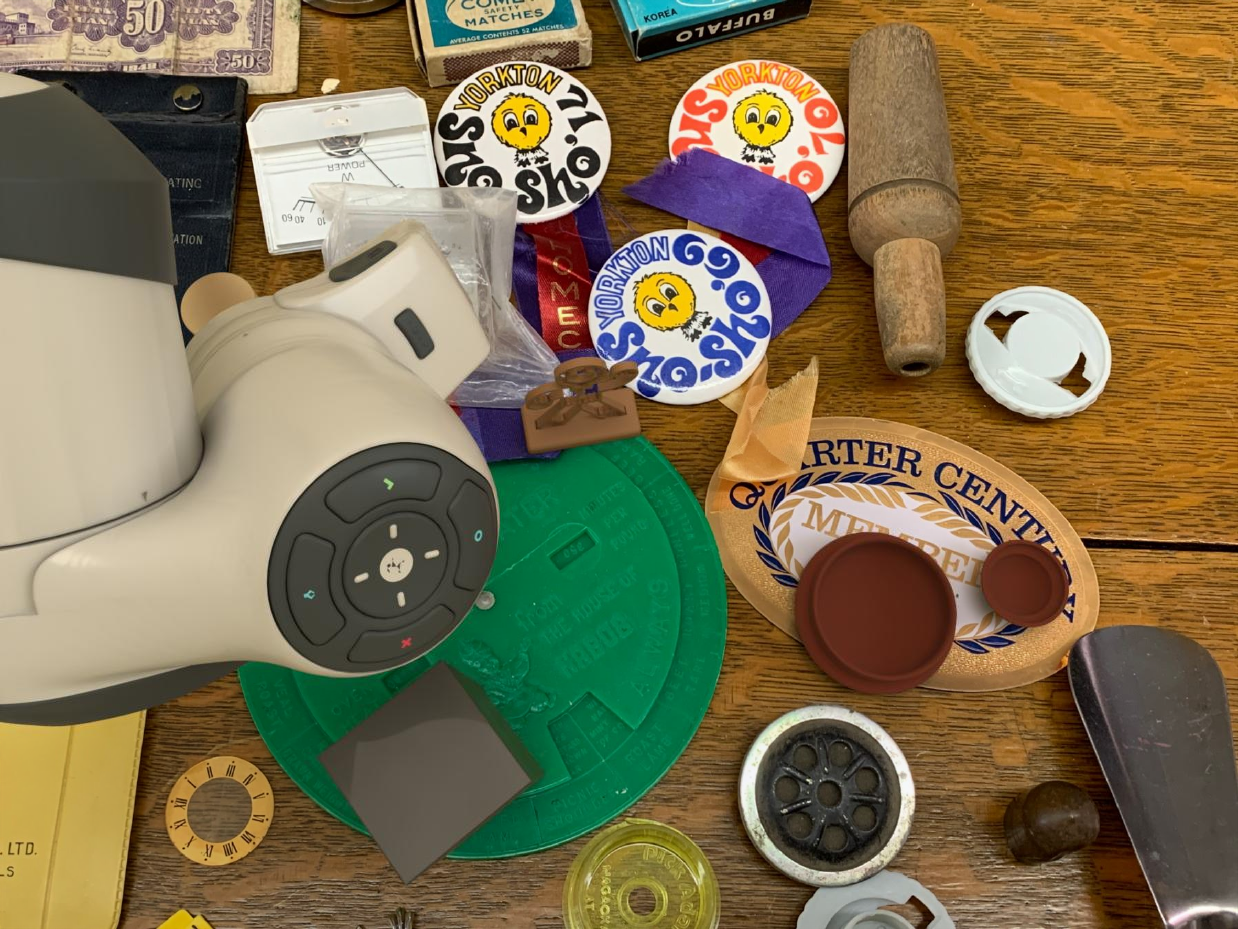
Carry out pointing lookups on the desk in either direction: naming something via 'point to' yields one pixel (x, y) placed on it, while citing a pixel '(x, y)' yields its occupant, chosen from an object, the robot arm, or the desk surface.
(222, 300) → the shaker
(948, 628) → the pottery
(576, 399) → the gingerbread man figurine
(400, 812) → the stand
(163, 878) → the desk surface
